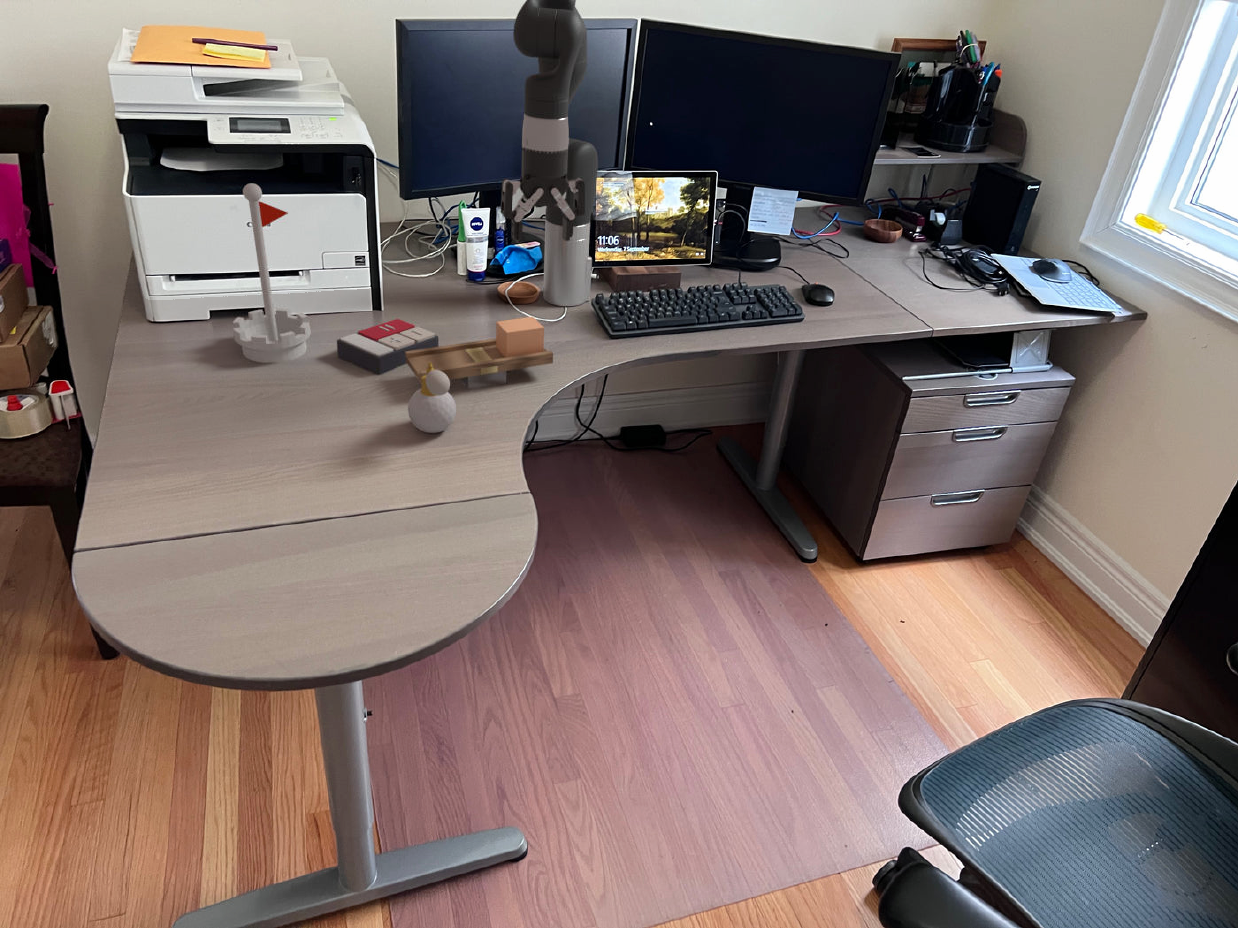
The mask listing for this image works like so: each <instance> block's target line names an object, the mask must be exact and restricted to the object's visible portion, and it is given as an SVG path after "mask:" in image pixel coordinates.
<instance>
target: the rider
mask: <svg viewBox="0 0 1238 928" xmlns="http://www.w3.org/2000/svg"><path fill="white" fill-rule="evenodd" d="M495 324H496V325H495V326H496V327H495V328H496V330H495V331H496V332H495V334H496V335H495V338H496V348H497V349H498V350H499V351H500V352H501V353H502V354H503V355H504V357H505V358H507V357H513V356H520V355H526V354H533V353H539V352H543V348H544V340H545V339H544V335H545V327H544V326H543V324H541V323H540V322H539V321H538V320H537V319H536V318H535V317H534V316H527V317H521V318H514V319H506V320H497V321H495Z"/></svg>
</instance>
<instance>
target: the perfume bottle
mask: <svg viewBox="0 0 1238 928" xmlns="http://www.w3.org/2000/svg"><path fill="white" fill-rule="evenodd" d="M432 367H433V366H432V364H431V362H429V364H428V368H427V370H426V372H427V375H425V376H423V377H422V384H421V387H420V388H419V389H418V390H416V391H415V392H414V393H413V394H412V395H411V398H410V399H409V401H408V405H407V412H408V417H409V420H410V421H411V423H412V424H413V425H414V427H416V428H417V429H418V430H419V431H422V432H424V433H427V434H434V433H440V432H443V431H445V430H447V429H448V428H450V426H451V425H452V424H453V422H454V420H455V418H456V413H457V406H456V402H455V400H454V397H453V396H452V394H451V393H450V392H449V391H450V388H451V387H450V386H451V380H449V378H448V377H447V375H446V374H444V373H443V372H441V371H439V370H434V369H433V368H432Z"/></svg>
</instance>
